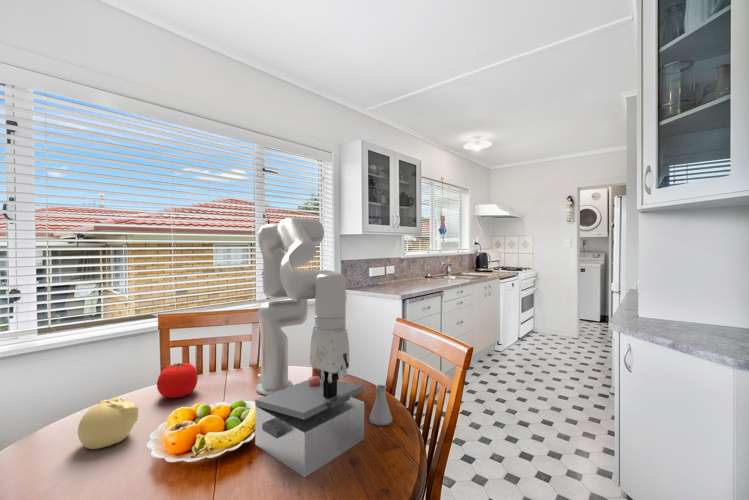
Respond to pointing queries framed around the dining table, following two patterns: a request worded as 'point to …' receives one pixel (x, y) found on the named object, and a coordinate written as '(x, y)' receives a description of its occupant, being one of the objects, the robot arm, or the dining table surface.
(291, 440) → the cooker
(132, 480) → the dining table surface
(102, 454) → the dining table surface
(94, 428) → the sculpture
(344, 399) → the lid
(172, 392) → the tomato
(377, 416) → the flask
